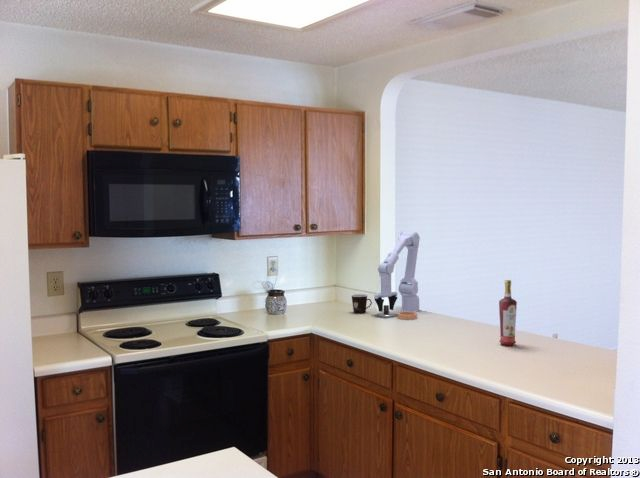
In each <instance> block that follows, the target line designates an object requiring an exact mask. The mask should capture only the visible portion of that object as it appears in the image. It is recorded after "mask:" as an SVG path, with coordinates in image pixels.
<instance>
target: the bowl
mask: <svg viewBox="0 0 640 478" xmlns="http://www.w3.org/2000/svg"><path fill="white" fill-rule="evenodd" d="M396 314H397V317H396V318H397V319H398V320H401V321H413V320H417V319H418V313H417V311H412V312H405V311H400V312H399V311H398V312H397V313H396Z"/></svg>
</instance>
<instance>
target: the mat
mask: <svg viewBox="0 0 640 478" xmlns="http://www.w3.org/2000/svg"><path fill="white" fill-rule="evenodd" d="M377 314H378V313H376V314H371V315H370V316H371V317H376V318H380V319H385V320H386V319H391V318H397V313H395V316H394V317H379V316H377Z"/></svg>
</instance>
